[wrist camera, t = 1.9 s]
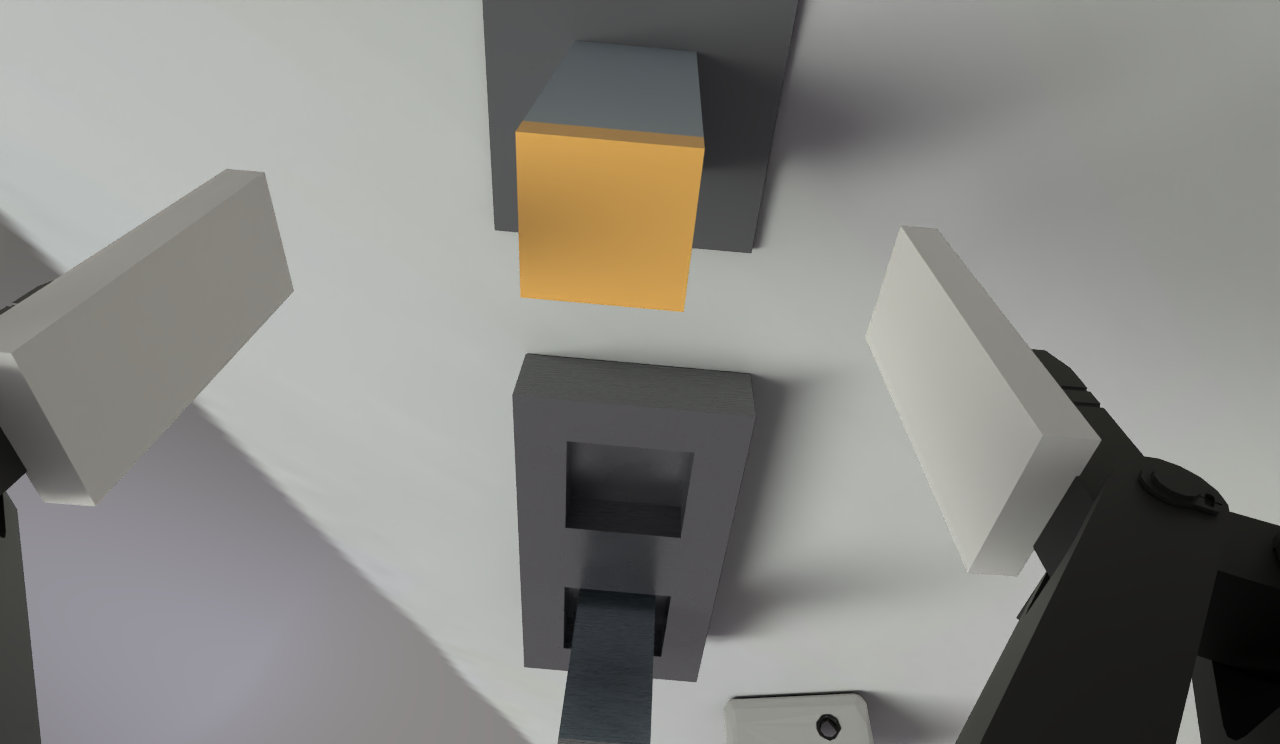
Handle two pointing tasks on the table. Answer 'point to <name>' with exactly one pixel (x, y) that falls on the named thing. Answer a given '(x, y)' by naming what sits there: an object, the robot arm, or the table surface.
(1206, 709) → the robot arm
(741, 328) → the table surface
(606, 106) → the plug
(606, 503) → the grey block holder
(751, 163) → the mat
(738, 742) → the electrical switch
